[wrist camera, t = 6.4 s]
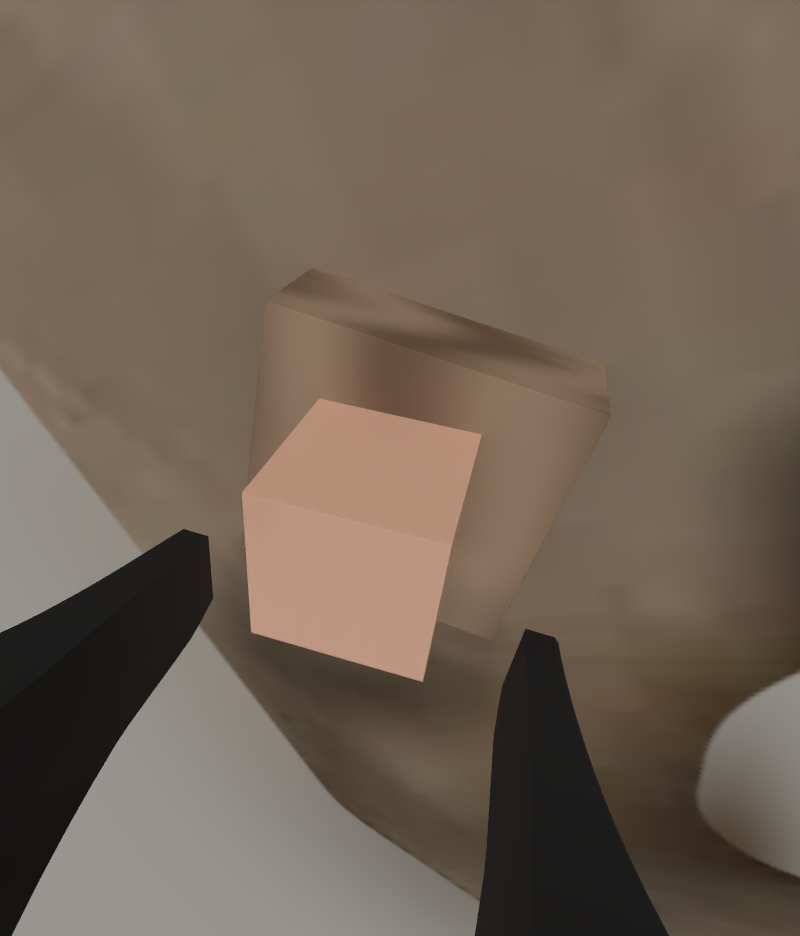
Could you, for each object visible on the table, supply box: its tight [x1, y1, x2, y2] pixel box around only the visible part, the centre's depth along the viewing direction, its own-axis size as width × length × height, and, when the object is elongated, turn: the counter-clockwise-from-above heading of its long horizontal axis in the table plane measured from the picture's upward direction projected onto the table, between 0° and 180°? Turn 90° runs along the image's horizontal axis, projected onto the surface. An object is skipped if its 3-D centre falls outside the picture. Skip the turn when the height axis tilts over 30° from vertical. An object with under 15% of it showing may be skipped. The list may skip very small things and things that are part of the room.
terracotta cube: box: [242, 399, 482, 682], centre depth 16 cm, size 5×5×5 cm
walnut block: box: [241, 268, 611, 640], centre depth 20 cm, size 10×10×4 cm
